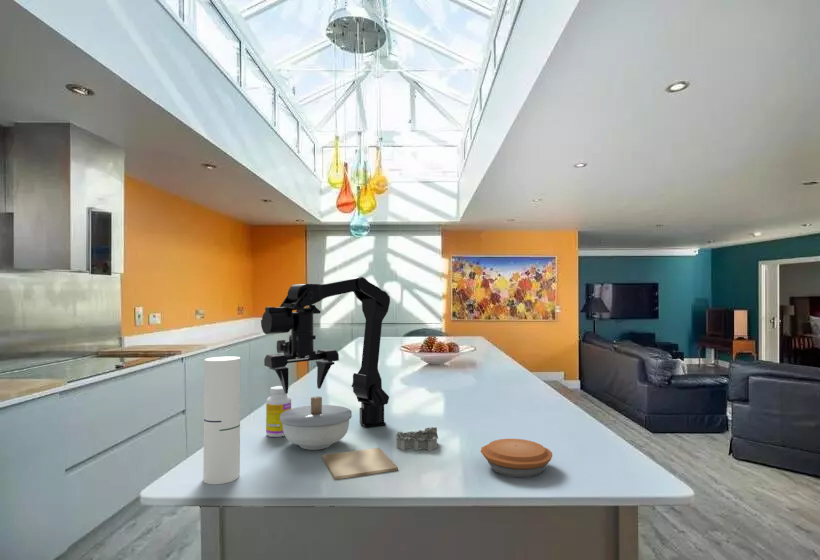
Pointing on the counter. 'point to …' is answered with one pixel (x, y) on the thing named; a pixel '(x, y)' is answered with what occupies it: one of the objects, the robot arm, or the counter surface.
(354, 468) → the plate
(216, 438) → the cylindrical container
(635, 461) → the counter surface
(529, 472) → the pie
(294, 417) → the lid
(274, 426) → the supplement bottle
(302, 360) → the robot arm
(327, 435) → the cereal bowl
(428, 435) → the egg carton
